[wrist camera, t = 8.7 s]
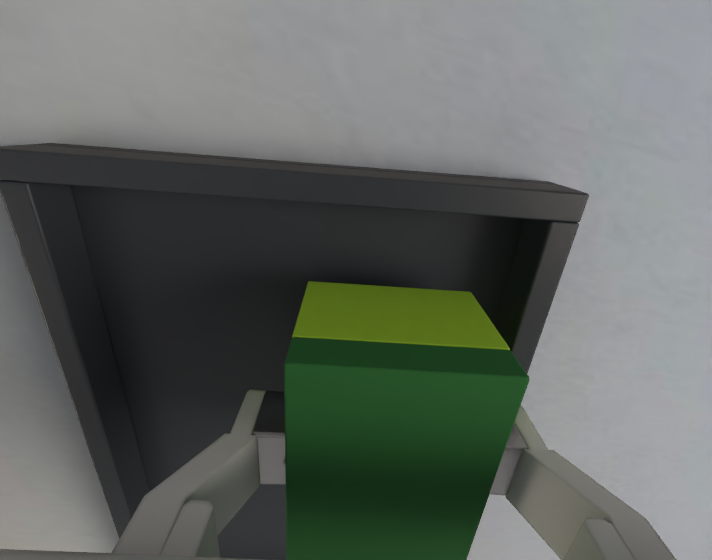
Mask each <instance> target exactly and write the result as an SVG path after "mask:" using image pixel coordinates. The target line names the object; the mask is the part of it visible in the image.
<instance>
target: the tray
mask: <svg viewBox="0 0 712 560" xmlns="http://www.w3.org/2000/svg"><path fill="white" fill-rule="evenodd" d="M0 191H1V194H2V197H3V200H4V203H5V206H6V209H7V212H8V215H9V217H10V220H11V223H12V226H13V229H14V232H15V235H16V238H17V241H18V244H19V247H20V250H21V252H22V255H23V258H24V261H25V264H26V267H27V270H28V273H29V276H30V279H31V282H32V285H33V287H34V290H35V293H36V296H37V299H38V302H39V305H40V308H41V311H42V314H43V317H44V320H45V322H46V325H47V328H48V331H49V334H50V337H51V340H52V343H53V346H54V349H55V352H56V355H57V357H58V360H59V363H60V366H61V369H62V372H63V375H64V378H65V381H66V384H67V387H68V390H69V392H70V395H71V398H72V401H73V404H74V407H75V410H76V413H77V416H78V419H79V422H80V425H81V427H82V430H83V433H84V436H85V439H86V442H87V445H88V448H89V451H90V454H91V457H92V460H93V462H94V465H95V468H96V471H97V474H98V477H99V480H100V483H101V486H102V489H103V492H104V494H105V497H106V500H107V503H108V506H109V509H110V512H111V515H112V518H113V521H114V524H115V527H116V529H117V532H118V535H119V538H121V536H122V534H123V532H124V531H125V529H126V527H127V525H128V523H129V522H130V520H131V518H132V516H133V515H134V513H135V511H136V509H137V508H138V506H139V504H140V502H141V501H142V499H143V497H144V496H145V495H146V494H147V493H149V492H150V491H151V490H153V489H154V488H155V487H156V486H158V485H159V484H160V483H162V482H163V481H164V480H165V479H167V478H168V477H169V476H171V475H172V474H173V473H175V472H176V471H177V470H178V469H180V468H181V467H182V466H184V465H185V464H186V463H187V462H189V461H190V460H191V459H193V458H194V457H195V456H197V455H198V454H199V453H200V452H202V451H203V450H204V449H206V448H207V447H208V446H209V445H211V444H212V443H213V442H215V441H216V440H217V439H218V438H220V437H221V436H222V435H224V434H230V433H231V430H232V428H233V425H234V423H235V420H236V418H237V415H238V413H239V410H240V408H241V405H242V403H243V401H244V398H245V396H246V393H247V392H248V391H249V390H262V391H280V392H284V363H285V360H286V356H287V353H288V349H289V346H290V343H291V339H292V335H293V332H294V328H295V325H296V321H297V318H298V315H299V311H300V308H301V304H302V301H303V297H304V294H305V291H306V287H307V284H308V282H309V281H313V282H328V283H344V284H359V285H374V286H389V287H404V288H420V289H435V290H450V291H465V292H471V293H472V294H473V296H474V297H475V299H476V300H477V302H478V303H479V305H480V306H481V308H482V309H483V310H484V312H485V313H486V315H487V316H488V318H489V319H490V321H491V322H492V323H493V325H494V326H495V328H496V329H497V331H498V332H499V334H500V335H501V337H502V338H503V339H504V341H505V342H506V344H507V345H508V347H509V348H510V351H511V352H512V353H513V354H514V356H515V357H516V359H517V360H518V362H519V363H520V365H521V366H522V368H523V369H524V370H525V372H526V373H528V370H529V367H530V364H531V361H532V358H533V355H534V353H535V350H536V347H537V344H538V341H539V338H540V335H541V332H542V329H543V327H544V324H545V321H546V318H547V315H548V312H549V309H550V306H551V304H552V301H553V298H554V295H555V292H556V289H557V286H558V283H559V280H560V278H561V275H562V272H563V269H564V266H565V263H566V260H567V257H568V255H569V252H570V249H571V246H572V243H573V240H574V237H575V234H576V231H577V229H578V226H579V224H578V223H577V222H580V220H581V217H582V214H583V211H584V208H585V205H586V202H587V200H588V197H589V195H588V194H587V193H584V192H581V191H578V190H575V189H571V188H568V187H565V186H562V185H558V184H555V183H552V182H547V181H534V180H521V179H508V178H495V177H482V176H469V175H456V174H443V173H431V172H418V171H405V170H392V169H379V168H366V167H353V166H340V165H327V164H314V163H301V162H288V161H275V160H262V159H249V158H237V157H224V156H211V155H198V154H185V153H172V152H159V151H146V150H133V149H120V148H107V147H94V146H81V145H68V144H55V143H46V144H31V145H17V146H3V147H0ZM217 537H218V544H219V551H220V558H242V559H268V560H287V556H286V484H259V487H258V488H257V490H256V491H255V492H254V493H253V494H252V496H251V497H250V498H249V499H248V500H247V501H246V503H245V504H244V505H243V506H242V507H241V509H240V510H239V511H238V512H237V513H236V514H235V516H234V517H233V518H232V519H231V520H230V522H229V523H228V524H227V525H226V526H225V527H224V529H223V530H222V531H221V532H220V533H219V535H218V536H217Z"/></svg>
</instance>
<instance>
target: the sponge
mask: <svg viewBox="0 0 712 560" xmlns="http://www.w3.org/2000/svg"><path fill="white" fill-rule="evenodd" d="M528 382H529V376H528V375H527V373H526V372H525V370H524V369H523V368H522V366H521V365H520V363H519V362H518V360H517V359H516V357H515V356H514V354H513V353H512V352H511V351H510V348H509V347H508V345H507V344H506V342H505V341H504V339H503V338H502V337H501V335H500V334H499V332H498V331H497V329H496V328H495V326H494V325H493V323H492V322H491V321H490V319H489V318H488V316H487V315H486V313H485V312H484V310H483V309H482V308H481V306H480V305H479V303H478V302H477V300H476V299H475V297H474V296H473V294H472V293H471V292H465V291H450V290H435V289H420V288H404V287H389V286H374V285H359V284H344V283H328V282H313V281H309V282H308V284H307V287H306V291H305V294H304V297H303V301H302V304H301V308H300V311H299V315H298V318H297V321H296V325H295V328H294V332H293V335H292V339H291V343H290V346H289V349H288V353H287V356H286V360H285V363H284V396H285V476H286V556H287V560H466V559H467V556H468V553H469V550H470V548H471V545H472V542H473V539H474V536H475V533H476V530H477V528H478V525H479V522H480V519H481V516H482V513H483V510H484V508H485V505H486V502H487V499H488V496H489V493H490V491H491V488H492V485H493V482H494V479H495V476H496V473H497V471H498V468H499V465H500V462H501V459H502V456H503V453H504V451H505V448H506V445H507V442H508V439H509V436H510V434H511V431H512V428H513V425H514V422H515V419H516V416H517V414H518V411H519V408H520V405H521V402H522V399H523V397H524V394H525V391H526V388H527V385H528Z"/></svg>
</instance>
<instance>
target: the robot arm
mask: <svg viewBox="0 0 712 560" xmlns="http://www.w3.org/2000/svg"><path fill="white" fill-rule="evenodd" d="M259 484H286V476H285V396H284V392H280V391H262V390H249V391H248V392H247V393H246V396H245V398H244V401H243V403H242V405H241V408H240V410H239V413H238V415H237V418H236V420H235V423H234V425H233V428H232V430H231V433H230V434H224V435H222V436H221V437H220V438H218V439H217V440H216V441H215V442H213V443H212V444H211V445H209V446H208V447H207V448H206V449H204V450H203V451H202V452H200V453H199V454H198V455H197V456H195V457H194V458H193V459H191V460H190V461H189V462H187V463H186V464H185V465H184V466H182V467H181V468H180V469H178V470H177V471H176V472H175V473H173V474H172V475H171V476H169V477H168V478H167V479H165V480H164V481H163V482H162V483H160V484H159V485H158V486H156V487H155V488H154V489H153V490H151V491H150V492H149V493H147V494H146V495H145V496H144V497H143V499H142V501H141V502H140V504H139V506H138V508H137V509H136V511H135V513H134V515H133V516H132V518H131V520H130V522H129V523H128V525H127V527H126V529H125V531H124V532H123V534H122V536H121V538H120V539H119V541H118V543H117V545H116V546H115V548H114V550H113V552H112V553H88V552H63V551H37V550H12V549H0V560H268V559H242V558H220V551H219V544H218V537H217V536H218V535H219V533H220V532H221V531H222V530H223V529H224V527H225V526H226V525H227V524H228V523H229V522H230V520H231V519H232V518H233V517H234V516H235V514H236V513H237V512H238V511H239V510H240V509H241V507H242V506H243V505H244V504H245V503H246V501H247V500H248V499H249V498H250V497H251V496H252V494H253V493H254V492H255V491H256V490H257V488H258V487H259ZM489 494H494V495H506V498H507V499H508V500H509V501H510V503H511V504H512V505H513V506H514V507H515V508H516V509H517V510H518V512H519V513H520V514H521V515H522V516H523V517H524V518H525V519H526V521H527V522H528V523H529V524H530V525H531V526H532V527H533V528H534V530H535V531H536V532H537V533H538V534H539V535H540V536H541V537H542V539H543V540H544V541H545V542H546V543H547V544H548V545H549V546H550V548H551V549H552V550H553V551H554V552H555V553H556V554H557V555H558V557H559V558H560V559H561V560H676V559H675V557H674V556H673V555H672V553H671V552H670V550H669V549H668V548H667V546H666V545H665V544H664V542H663V541H662V540H661V538H660V537H659V535H658V534H657V533H656V531H655V530H654V529H653V527H652V526H651V525H650V523H649V522H648V521H647V519H646V518H644V517H643V516H642V515H640V514H639V513H638V512H636V511H635V510H634V509H632V508H631V507H630V506H628V505H627V504H625V503H624V502H623V501H621V500H620V499H619V498H617V497H616V496H615V495H613V494H612V493H611V492H609V491H608V490H607V489H605V488H604V487H603V486H601V485H600V484H598V483H597V482H596V481H594V480H593V479H592V478H590V477H589V476H588V475H586V474H585V473H584V472H582V471H581V470H580V469H578V468H577V467H576V466H574V465H573V464H571V463H570V462H569V461H567V460H566V459H565V458H563V457H562V456H561V455H559V454H558V453H557V452H555V451H554V450H548V448H547V447H546V445H545V443H544V442H543V440H542V438H541V437H540V435H539V433H538V432H537V430H536V428H535V427H534V425H533V423H532V422H531V420H530V418H529V417H528V415H527V413H526V412H525V410H524V408H523V407H522V406H521V405H520V408H519V411H518V414H517V416H516V419H515V422H514V425H513V428H512V431H511V434H510V436H509V439H508V442H507V445H506V448H505V451H504V453H503V456H502V459H501V462H500V465H499V468H498V471H497V473H496V476H495V479H494V482H493V485H492V488H491V491H490V493H489Z"/></svg>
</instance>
